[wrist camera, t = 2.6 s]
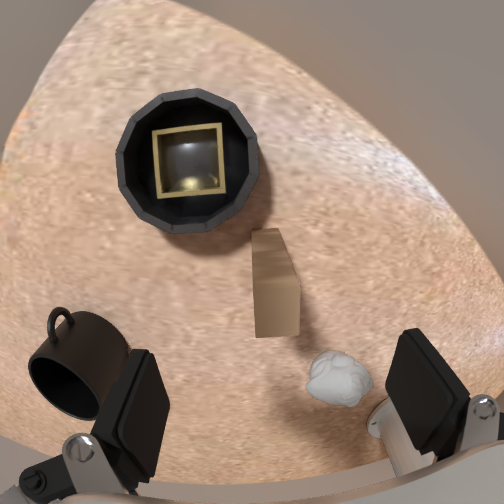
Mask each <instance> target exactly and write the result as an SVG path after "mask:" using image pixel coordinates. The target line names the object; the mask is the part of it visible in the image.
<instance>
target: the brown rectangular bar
mask: <svg viewBox="0 0 504 504" xmlns="http://www.w3.org/2000/svg"><path fill="white" fill-rule="evenodd" d="M251 238H252V271H253V298H254V316H255V334H256V338H265V337H282V336H295V335H299V327H300V295H301V286H300V284H299V281H298V278H297V276H296V273H295V270H294V268H293V265H292V263H291V260H290V257H289V255H288V252H287V250H286V247H285V244H284V242H283V239H282V237H281V234H280V232H279V229H278V228H271V229H251Z"/></svg>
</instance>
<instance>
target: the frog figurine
mask: <svg viewBox="0 0 504 504" xmlns="http://www.w3.org/2000/svg"><path fill="white" fill-rule="evenodd" d="M309 376H310V381H309V382H308V383H307V384H306V389H307V391H308V393H309V394H310V395H311V396H312V397H313V398H315V399H317V400H321V401H323V402H325V403H327V404H332V405H343V406H344V405H346V406H347V407H348V408H350V407H354V406H356V405H357V404H358V403H359V401H360V399H361V397H362V396H365V395H366V394H367V393H368V392H369V391H370V390H371V388H372V386H373V381H372V378H371V376H370V374H369V372H368V370H367V369H366V367H365V366H364V365H363V364H362V363H360V362H359V361H355V360H354V358H353V357H352V356H349V355H348V354H345V352H341V351H336V350H331V351H326V352H324V353H322V354H320V355H319V356H317V357H316V358H315V360H314V361H313V362H312V364H311V367H310V371H309Z"/></svg>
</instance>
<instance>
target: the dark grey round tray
mask: <svg viewBox="0 0 504 504" xmlns="http://www.w3.org/2000/svg"><path fill="white" fill-rule="evenodd" d="M115 155H116V168H117V178H118V188H120V189H119V190H120V191H121V193H122V194H123V196H124V197H125V199H126V200H127V202H128V203H129V205H130V206H131V208H132V209H133V211H134V212H135V214H136V215H137V216H138V218H139V217H140V218H139V219H141V220H143V221H145V222H147V223H149V224H151V225H153V226H155V227H157V228H160V229H162V230H164V231H166V232H168V233H170V234H171V233H172V234H182V233H197V232H208V231H210V230H212V229H213V228H215V227H216V226H218V225H219V224H221V223H223V222H224V221H226V220H227V219H229V218H230V217H232V216H233V215H235V214H236V213H238V212H239V211H240V210H241V209H242V207H243V205H244V203H245V201H246V199H247V198H248V196H249V194H250V192H251V190H252V188H253V186H254V184H255V182H256V180H257V178H258V175H259V164H258V144H257V135H256V133H255V132H254V130H253V129H252V127H251V126H250V124H249V123H248V122H247V120H246V119H245V117H244V116H243V114H242V113H241V111H240V110H239V109H238V107H237V106H236V104H234V103H233V102H231V101H228V100H226V99H224V98H222V97H219V96H217V95H215V94H212V93H210V92H207V91H205V90H202V89H200V88H196V89H188V90H181V91H174V92H168V93H162V94H160V95H158V96H157V97H156V98H154V99H153V100H152V101H150V102H149V103H148V104H146V105H145V106H144V107H143V108H141V109H140V110H139V111H138V112H136V113H135V114H134V115H133V116H131V118H130V119H129V121H128V123H127V126H126V128H125V130H124V132H123V135H122V137H121V139H120V142H119V144H118V147H117V149H116V153H115Z"/></svg>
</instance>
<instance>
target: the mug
mask: <svg viewBox="0 0 504 504" xmlns="http://www.w3.org/2000/svg"><path fill="white" fill-rule="evenodd" d="M59 315H63V316H64V317H65V318H66V319H65V320H64V321H63V322H62V323H61V324H60V325H59V326H58V327H57V328H56V329H55V322H56V319H57V317H58V316H59ZM47 331H48V336H49V337H48V338H47V339H46V340H45V341H44V343H43V344H42V345H41V346H40V347H39V348H38V349H37V351H36V352H35V353H34V354H33V355H32V356H31V357H30V359H29V362H28V370H29V374H30V377H31V379H32V381H33V383H34V385H35V386H36V388H37V389H38V390H39V392H40V393H41V394H42V395H43V396H44V397H45V398H46V399H47V400H48V401H49V402H50V403H51V404H52V405H54V406H55V407H56V408H58V409H59V410H60V411H62V412H64V413H65V414H67V415H69V416H71V417H74V418H77V419H80V420H85V421H93V420H96V419H97V417H98V414H99V412H100V410H101V408H102V405H103V403H104V401H105V399H106V397H107V394H108V392H109V390H110V388H111V386H112V384H113V383H114V382H115V381H117V380H118V378H119V376H120V374H121V372H122V369H123V367H124V365H125V363H126V361H127V359H128V350H127V346H126V344H125V341H124V339H123V338H122V336H121V335H120V333H119V332H118V331H117V330H116V328H115V327H114V326H113V325H112V324H110V323H109V322H108V321H107V320H105V319H104V318H102V317H100V316H98V315H96V314H94V313H91V312H86V311H79V312H74V313H72V314H71V313H70V312H69V311H68V310H67V309H66V308H63V307H56V308H55V309H53V310H52V312H51V313H50V315H49V318H48V322H47Z"/></svg>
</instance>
